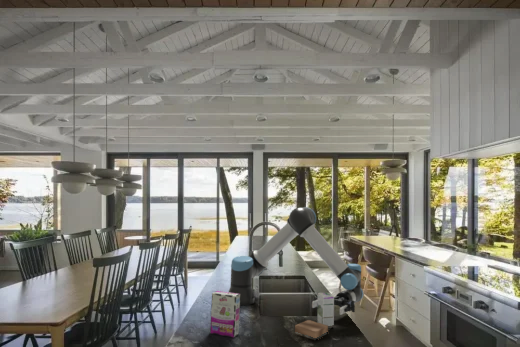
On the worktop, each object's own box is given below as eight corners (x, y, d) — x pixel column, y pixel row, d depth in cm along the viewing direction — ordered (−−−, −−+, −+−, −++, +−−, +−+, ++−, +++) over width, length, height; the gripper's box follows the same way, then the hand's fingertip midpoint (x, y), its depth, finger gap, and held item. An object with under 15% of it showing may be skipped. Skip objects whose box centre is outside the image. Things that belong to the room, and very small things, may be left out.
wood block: (308, 329, 160) (308, 319, 161) (328, 335, 154) (328, 325, 154) (294, 334, 153) (295, 325, 153) (315, 341, 146) (315, 331, 147)
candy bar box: (239, 334, 150) (241, 293, 151) (234, 338, 146) (236, 296, 147) (215, 329, 154) (217, 290, 155) (209, 333, 150) (211, 292, 151)
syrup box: (334, 328, 161) (335, 295, 162) (322, 329, 159) (322, 295, 160) (328, 324, 166) (329, 292, 167) (316, 325, 165) (317, 292, 166)
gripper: (370, 312, 172) (352, 323, 155) (322, 301, 187) (301, 310, 170) (370, 295, 173) (353, 305, 156) (322, 286, 188) (302, 294, 171)
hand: (326, 308), depth 163 cm, fingers open, 13 cm apart
